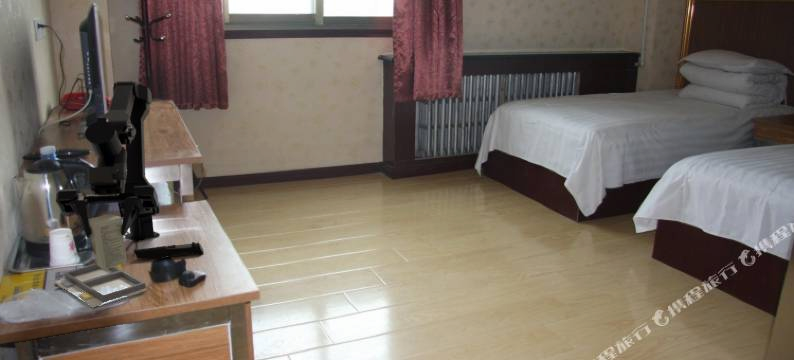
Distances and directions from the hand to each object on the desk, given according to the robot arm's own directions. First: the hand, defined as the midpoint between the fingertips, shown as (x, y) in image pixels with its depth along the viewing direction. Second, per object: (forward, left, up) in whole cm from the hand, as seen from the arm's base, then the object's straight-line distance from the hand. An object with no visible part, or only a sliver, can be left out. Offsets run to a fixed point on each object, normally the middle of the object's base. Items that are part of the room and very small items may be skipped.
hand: (105, 236), depth 127 cm
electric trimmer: (-10, +19, -13) cm, 25 cm away
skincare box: (-1, +1, -7) cm, 7 cm away
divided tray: (-5, 0, -13) cm, 14 cm away
